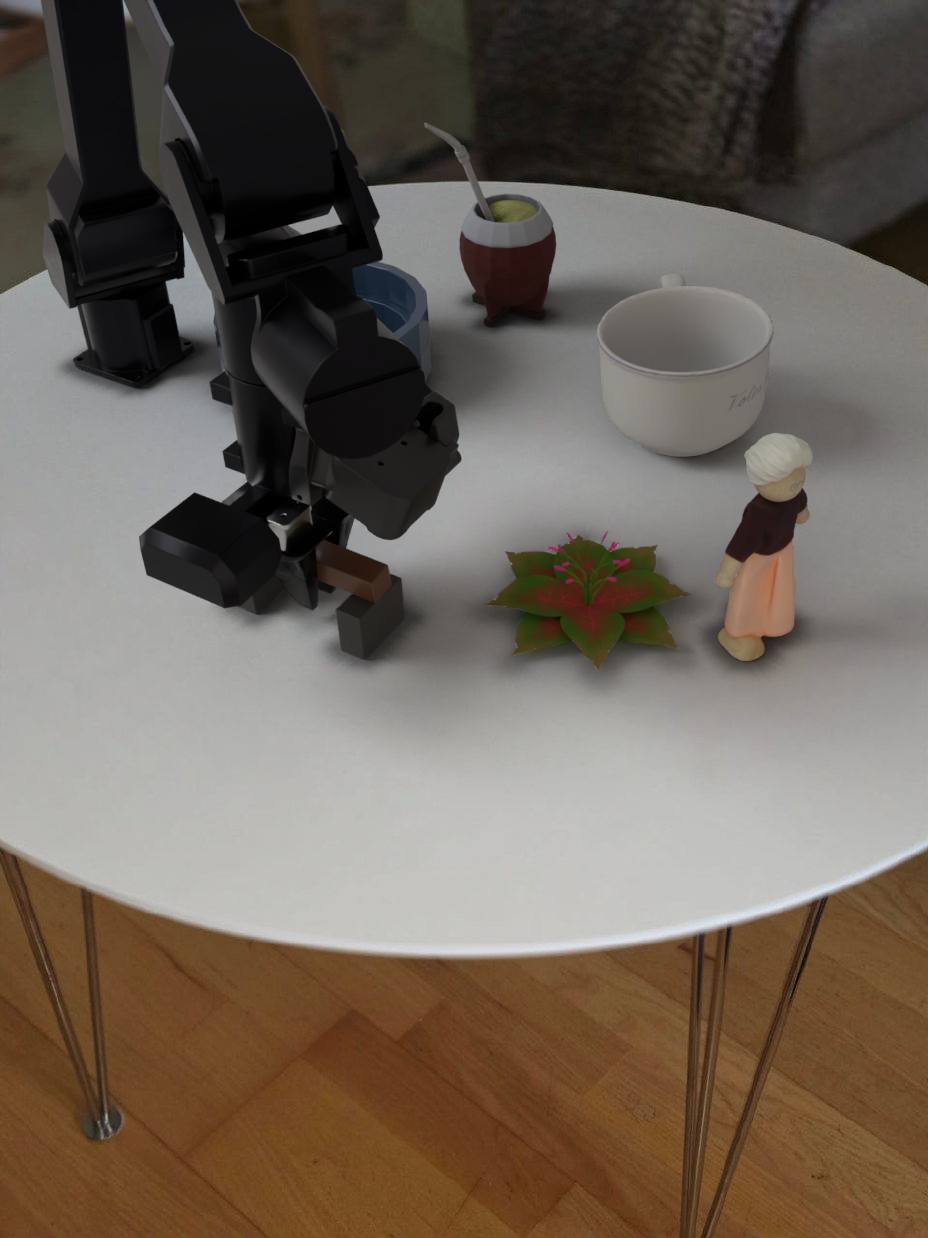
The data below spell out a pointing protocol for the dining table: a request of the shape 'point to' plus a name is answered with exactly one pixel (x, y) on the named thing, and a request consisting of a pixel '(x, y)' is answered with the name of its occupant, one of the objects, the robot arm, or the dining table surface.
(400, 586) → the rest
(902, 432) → the dining table surface
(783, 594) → the grandmother figurine
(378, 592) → the stick
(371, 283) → the bowl
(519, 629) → the red green leafy plant
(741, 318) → the teacup
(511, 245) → the mate gourd
